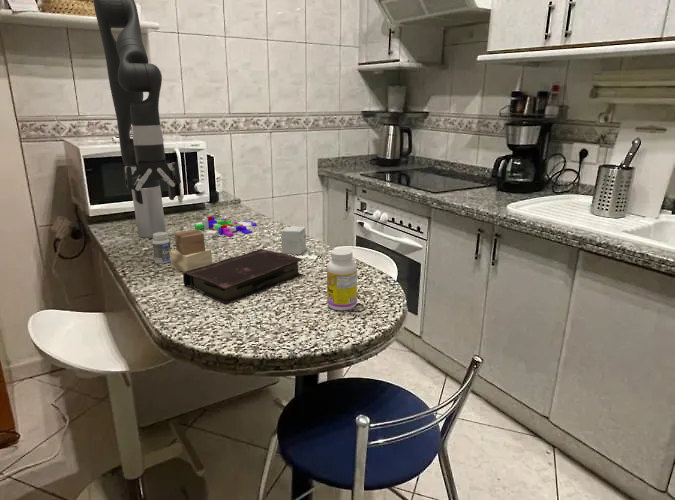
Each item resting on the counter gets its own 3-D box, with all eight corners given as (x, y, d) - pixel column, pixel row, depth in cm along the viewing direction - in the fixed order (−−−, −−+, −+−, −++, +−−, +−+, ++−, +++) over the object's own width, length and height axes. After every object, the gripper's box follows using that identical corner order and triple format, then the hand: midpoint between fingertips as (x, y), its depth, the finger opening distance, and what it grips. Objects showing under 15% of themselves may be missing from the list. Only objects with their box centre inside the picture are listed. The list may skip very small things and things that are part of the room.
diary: (183, 288, 115) (181, 269, 114) (260, 263, 133) (259, 247, 132) (228, 307, 103) (226, 286, 102) (305, 277, 121) (305, 259, 120)
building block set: (269, 230, 167) (268, 219, 166) (217, 241, 154) (216, 228, 153) (236, 218, 185) (235, 208, 184) (187, 227, 173) (186, 215, 171)
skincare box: (300, 254, 138) (299, 231, 136) (281, 253, 139) (280, 230, 137) (306, 249, 144) (305, 226, 141) (288, 247, 145) (287, 225, 143)
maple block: (171, 268, 128) (169, 251, 127) (195, 260, 134) (193, 244, 133) (188, 274, 124) (186, 256, 122) (212, 266, 130) (211, 249, 128)
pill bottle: (166, 264, 131) (162, 236, 128) (151, 263, 132) (147, 235, 129) (175, 259, 135) (171, 231, 133) (160, 258, 136) (157, 231, 134)
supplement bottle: (326, 300, 106) (325, 247, 102) (354, 298, 106) (354, 246, 102) (328, 312, 99) (327, 256, 96) (358, 311, 100) (358, 255, 96)
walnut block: (176, 250, 128) (174, 232, 126) (197, 246, 131) (195, 229, 130) (184, 255, 123) (182, 237, 122) (205, 251, 127) (203, 233, 125)
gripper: (170, 140, 130) (177, 196, 135) (117, 143, 122) (126, 202, 127) (179, 142, 125) (186, 200, 130) (124, 145, 116) (133, 207, 121)
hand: (156, 201), depth 128 cm, fingers open, 8 cm apart
